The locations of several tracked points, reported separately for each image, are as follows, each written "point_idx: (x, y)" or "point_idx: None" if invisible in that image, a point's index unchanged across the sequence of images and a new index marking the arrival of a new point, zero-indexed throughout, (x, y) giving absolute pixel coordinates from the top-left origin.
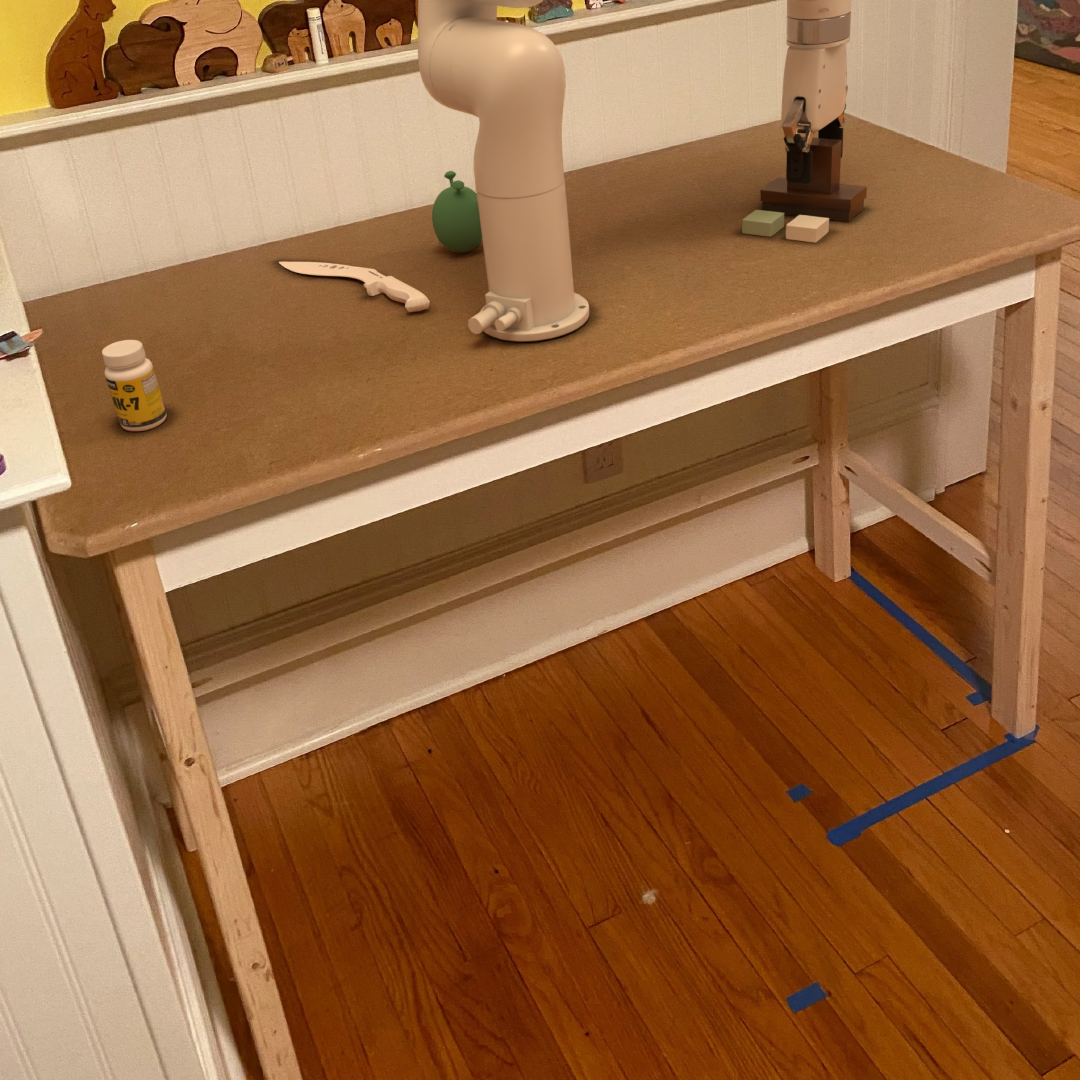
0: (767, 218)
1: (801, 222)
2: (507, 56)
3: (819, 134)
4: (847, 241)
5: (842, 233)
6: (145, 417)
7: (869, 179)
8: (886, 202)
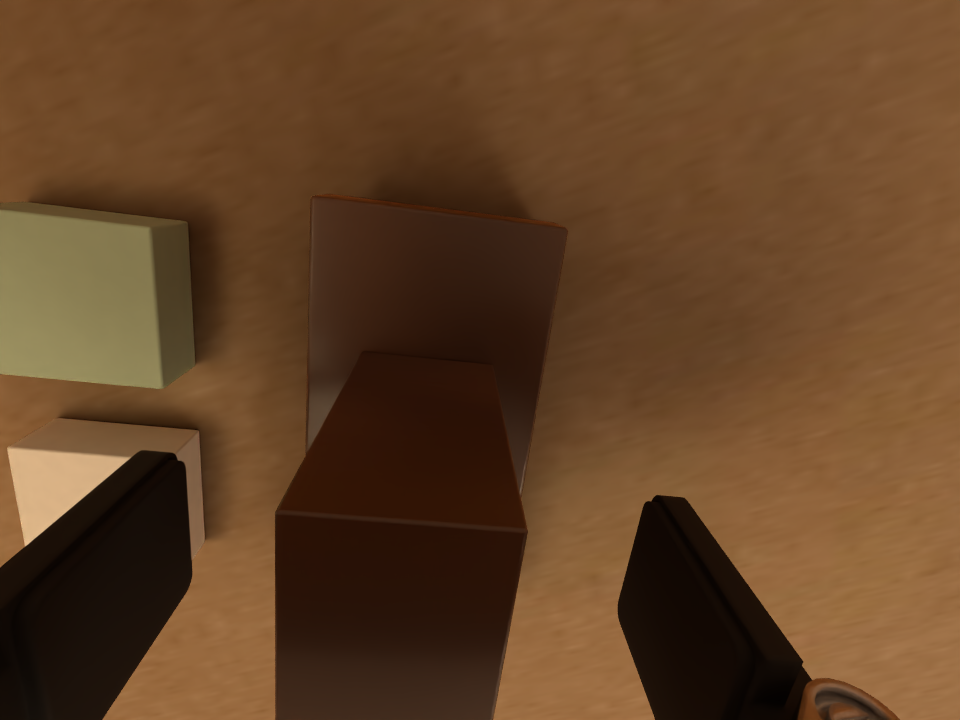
0: (44, 336)
1: (74, 498)
2: None
3: (718, 619)
4: None
5: (214, 584)
6: None
7: (834, 517)
8: (572, 629)
